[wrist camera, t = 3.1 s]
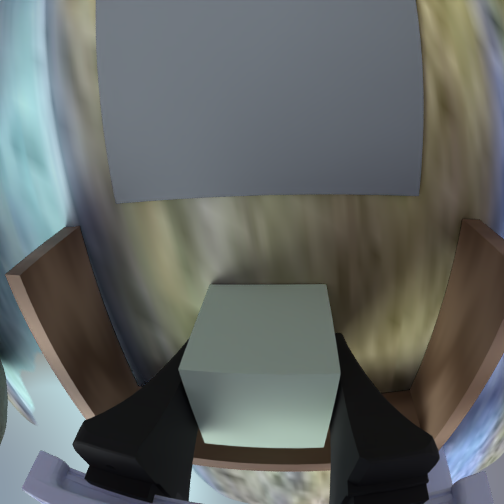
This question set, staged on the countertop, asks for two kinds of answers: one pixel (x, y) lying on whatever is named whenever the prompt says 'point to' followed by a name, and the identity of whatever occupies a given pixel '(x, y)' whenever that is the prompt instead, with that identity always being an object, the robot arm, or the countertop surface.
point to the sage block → (263, 366)
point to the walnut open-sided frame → (255, 458)
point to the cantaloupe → (3, 401)
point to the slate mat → (260, 97)
